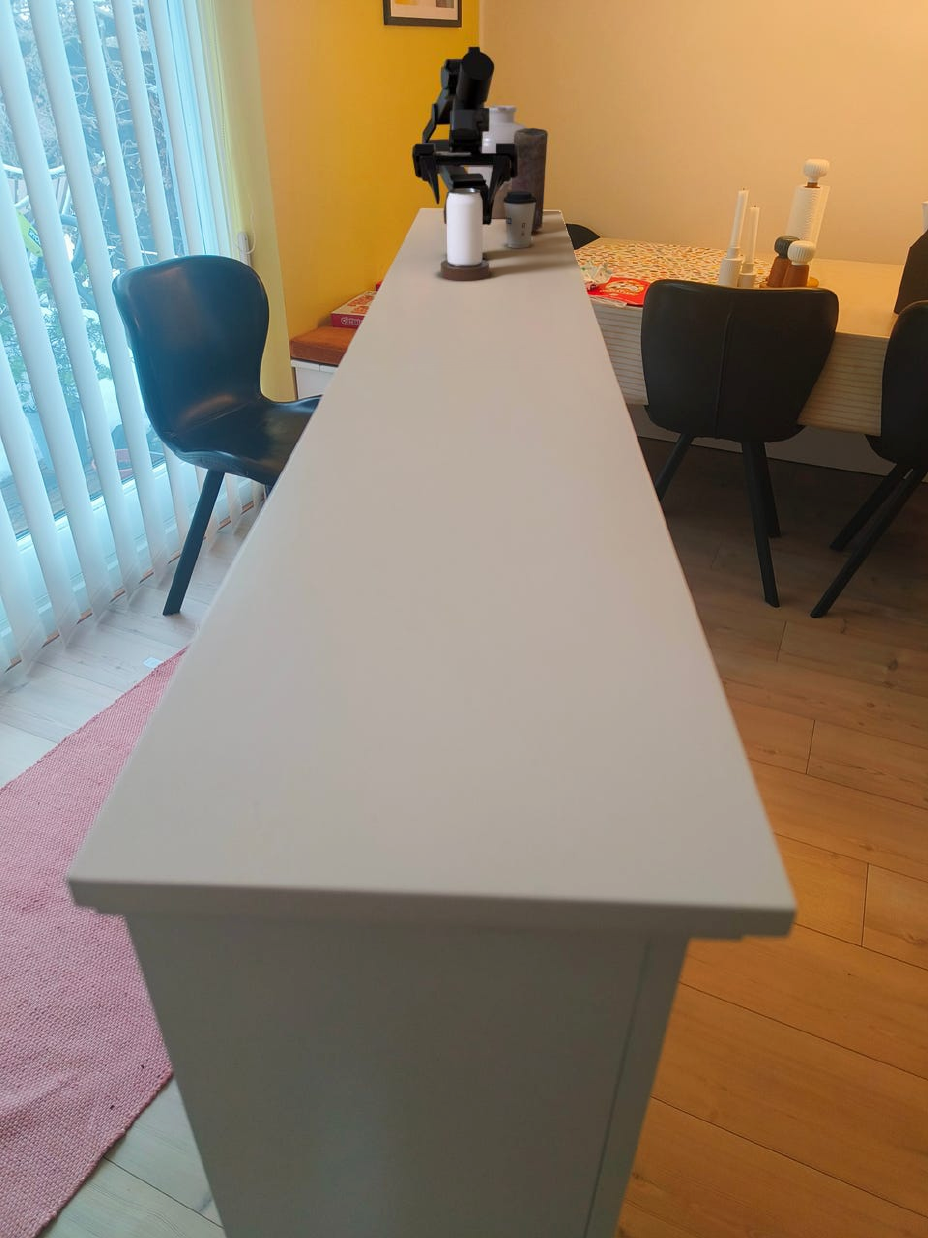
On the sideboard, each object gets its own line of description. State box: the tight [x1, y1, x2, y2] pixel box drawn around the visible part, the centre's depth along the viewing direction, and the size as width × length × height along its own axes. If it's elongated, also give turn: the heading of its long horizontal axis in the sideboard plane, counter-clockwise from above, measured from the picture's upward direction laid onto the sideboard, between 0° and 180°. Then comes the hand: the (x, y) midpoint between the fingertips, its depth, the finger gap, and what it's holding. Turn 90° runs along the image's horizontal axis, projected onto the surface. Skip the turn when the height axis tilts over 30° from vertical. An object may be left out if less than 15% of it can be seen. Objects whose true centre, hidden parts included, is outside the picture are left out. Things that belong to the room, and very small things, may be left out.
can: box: [446, 188, 484, 267], centre depth 148 cm, size 6×6×12 cm
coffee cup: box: [503, 191, 537, 249], centre depth 170 cm, size 7×7×10 cm
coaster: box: [440, 259, 490, 282], centre depth 152 cm, size 9×9×2 cm
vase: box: [467, 105, 528, 219], centre depth 195 cm, size 16×16×23 cm
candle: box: [511, 127, 549, 233], centre depth 179 cm, size 8×7×20 cm
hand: (463, 202), depth 145 cm, fingers open, 9 cm apart
